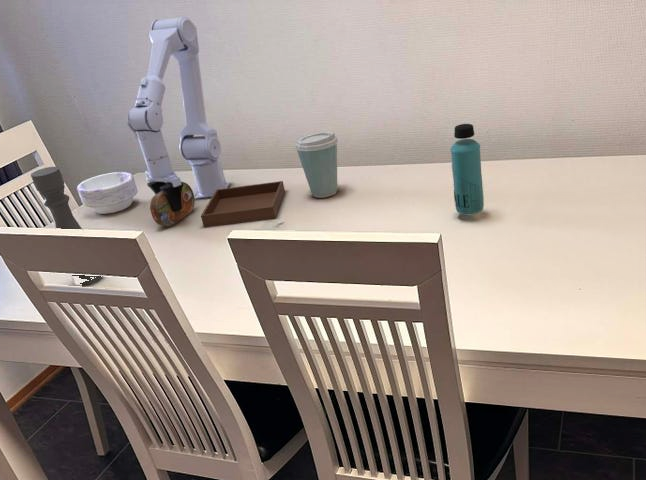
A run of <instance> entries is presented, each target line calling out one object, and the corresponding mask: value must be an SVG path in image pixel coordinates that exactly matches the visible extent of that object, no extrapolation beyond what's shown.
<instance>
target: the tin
mask: <svg viewBox="0 0 646 480" xmlns="http://www.w3.org/2000/svg"><path fill="white" fill-rule="evenodd" d="M182 182H183V188H182V193H181V202H182V210H179V211H177V212H174V211H173V210H172V208H171V206H170V203H169V201H168V199H167V197H166V196H165V194H164V193H163V192H162V191H160V192H159V193H157V194H156V195H155V194H154V195H153V196H152V198H151V200H150V203H149V211H150V214H151V216H152V219H153V221H154V223H156V224H157V225H159V226H161V227H173V226H174V225H176V224H177V223H179V222H180V221H181V220H183V219H184V218H185V217H187V216H188V215H190V214H191V213H192V212H193V210H194V207H195V205H196V204H195V201H196V200H195V199H196V198H195V194H194V191H193V189H192V188H191V187H192V186H190V185H189V184H188V183H187V182H185V181H182Z"/></svg>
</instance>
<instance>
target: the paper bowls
mask: <svg viewBox="0 0 646 480" xmlns="http://www.w3.org/2000/svg"><path fill="white" fill-rule="evenodd" d="M76 189H77V190H76V191H77V192H78V195H79V198H80V201H81V203H82V205H83V206H84V207H86V208H91V209H92V210H93V211H94V212H95V213H97V214H100V215H101V214H102V215H106V214H107V215H108V214H114V213H118V212H121V211H124V210H125V209H127V208H129V207H130V206H131V205H133V204H132V203H133V199H134V197H136V195H137V194H138V192H139V191H138V187H137V184H136V181H135V177H134V175H133V173H130V172H128V171H127V172H126V171H115V172H109V173H103V174H99V175H96V176H92V177H90V178H88V179H85V180H83V181H82V182H80V183H79V184H78V185H77V187H76Z"/></svg>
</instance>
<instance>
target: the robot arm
mask: <svg viewBox="0 0 646 480" xmlns="http://www.w3.org/2000/svg"><path fill="white" fill-rule="evenodd" d="M148 35H149V40H150V42H151V44H152V46H151V52H150V58H149V65H148V71H147V75H146V76H144V77H143V78H141V80H140V83H139V88H138V92H137V96H136V100H135V104H134V107H131V109H130V110H129V111H128V114H127V126H128V128H129V129H130V131H132V133H133V134H134V137H135V139H136V140H137V141H138V142H139V146H140V149H141V152H142V155H143V158H144V161H145V164H146V167H147V170H144V173H145V177H146V182H148V183H146V185H147V187H148V188H149V189H150V190H151V191H152V192H153V193H154V195H156V194H157V193H159V192H160V191H162V192H163V193H164V194H165V196H166V197H167V199H168V201H169V203H170V206H171V208H172V210H173V211H174V212H177V211H179V210H182V202H181V193H182V188H183V182H184V181H182V179H181V177H180V176H178V175H177V174H176V171H174V169H173V167H172V166H173V165H172V162H171V159H170V157H169V152H168V150H167V147H166V146H167V145H166V143H165V140H164V137H163V133H162V127H163V124H164V117H163V108H162V104H163V99H164V95H165V92H166V85H165V83H164V82H163V79H164V76H165V73H166V70H167V67H168V64H169V61H170V58H171V56H173V58H175V60H177V64H178V72H179V73H178V74H179V80H180V89H181V95H182V103H183V111H184V118H185V125H184V127H182V129H181V131H180V132H179V138H180V141H179V145H178V146H179V147H178V148H179V153H180V155H181V157H182V159H183V160H185V161H187V164H188V165H190V167H191V171H192V173H193V177H194V181H195V184H196V187H197V191H198V192H197V194H196V195H195V196H194V199H196V200H197V199H198V200H199V199H204V198H205V199H206V198H212V196H213V194H214V193H215V191H216V190H217V189H225V188H229V187H230V184H231V183H230V181H226V176H225V173H224V169H223V166H222V162H221V161H220V156H221V152H222V151H221V150H222V146H221V142H220V140H219V137H218V131H217V130H216V129H215V128H214V127H212V126H211V125H210V124H208V123H207V116H206V108H205V99H204V91H203V82H202V75H201V65H200V58H199V57H200V56H199V52H200V48H199V46H200V45H199V39H198V38H199V37H198V30H197V26H196V25H195V23H194V22H193V21H192V20H191V19H190V17H188V16H181V17H175V18H167V19H166V18H165V19H155V20H153V21H152V22H151V24H150V29H149V33H148ZM197 135H198V136H197Z"/></svg>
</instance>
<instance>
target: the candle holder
mask: <svg viewBox="0 0 646 480" xmlns="http://www.w3.org/2000/svg"><path fill="white" fill-rule="evenodd" d="M30 177H31V180H32V183H33V185H34V187H35V190H36V191H37V192H38V193H39V195H41V196H42V197H43V198H44V201H43V205H44V206H45V207H46V208H48V209H49V212H50V214H51V215H52V216H51V217H52V218H53V221H54V225H55V229H56V228H61V229H82V230H83V228H82V227H81V225H80V224H79V221H77V220H76V218H75V217H74V215H73V212H72V209H71V207H70V204H69V201H70V196H69V195H68V194H65V187H66V186H65V179H64V177H63V174H62V172H61V169H60V167H59V166H47V167H43V168H39V169H37V170H35V171H33V172H31V174H30ZM72 276H79V278H81V279H87V280H89V281H85V282H83V283H80V284H82V286H81V287H86V286H91V285H93V284H96V283H97V282H100V281H101V280H102V278H103V276H102V277H101V276H85V275H72ZM72 276H71V277H72ZM90 277H94V279H92V278H90ZM95 277H96V278H95ZM91 279H92V280H91Z"/></svg>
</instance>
